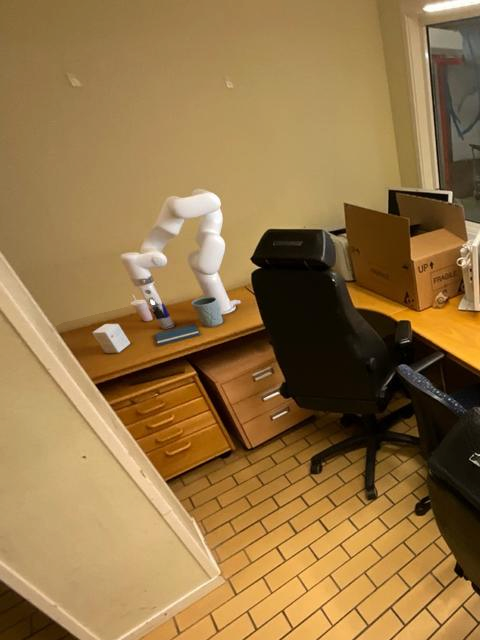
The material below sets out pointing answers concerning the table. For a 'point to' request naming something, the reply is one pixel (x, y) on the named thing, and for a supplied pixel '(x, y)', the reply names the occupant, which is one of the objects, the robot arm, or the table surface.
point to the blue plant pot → (208, 311)
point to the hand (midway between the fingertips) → (159, 314)
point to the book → (176, 334)
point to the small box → (111, 338)
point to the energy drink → (166, 321)
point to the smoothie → (142, 309)
